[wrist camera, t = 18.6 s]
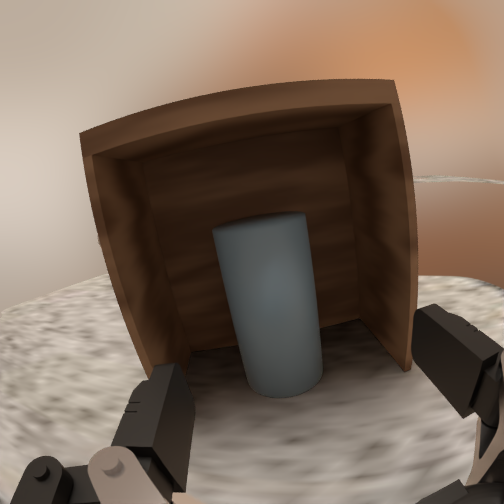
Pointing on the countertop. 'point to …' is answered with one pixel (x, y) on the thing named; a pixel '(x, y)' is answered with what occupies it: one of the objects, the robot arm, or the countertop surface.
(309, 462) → the countertop surface
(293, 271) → the grey-blue cylinder
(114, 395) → the countertop surface
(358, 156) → the open wooden box
